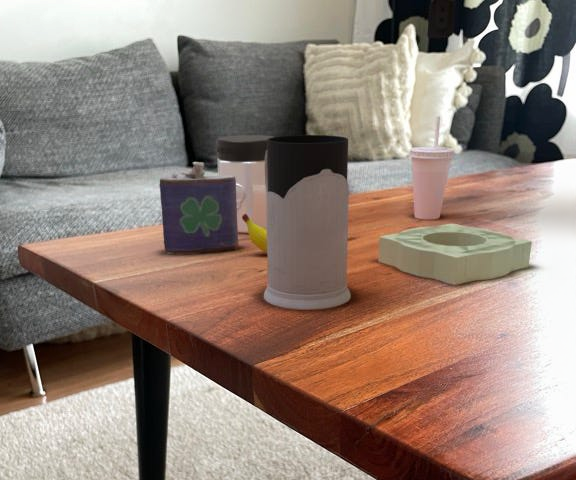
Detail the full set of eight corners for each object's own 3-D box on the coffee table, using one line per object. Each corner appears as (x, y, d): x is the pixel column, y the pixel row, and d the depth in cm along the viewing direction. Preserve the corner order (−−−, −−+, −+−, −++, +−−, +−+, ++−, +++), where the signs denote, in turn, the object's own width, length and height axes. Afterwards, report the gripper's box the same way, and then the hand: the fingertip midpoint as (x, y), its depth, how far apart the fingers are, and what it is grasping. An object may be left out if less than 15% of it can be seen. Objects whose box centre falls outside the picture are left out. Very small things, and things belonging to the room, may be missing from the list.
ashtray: (449, 245, 91) (451, 221, 90) (537, 267, 81) (540, 241, 80) (370, 261, 84) (371, 236, 83) (455, 288, 74) (457, 259, 73)
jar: (207, 231, 100) (202, 140, 95) (232, 219, 107) (229, 134, 102) (267, 235, 97) (265, 142, 92) (289, 223, 104) (288, 135, 99)
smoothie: (454, 220, 105) (463, 118, 99) (410, 221, 104) (417, 119, 98) (442, 212, 110) (450, 115, 105) (400, 213, 110) (406, 115, 104)
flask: (237, 245, 92) (233, 158, 87) (240, 251, 89) (237, 161, 85) (163, 250, 90) (156, 161, 85) (165, 256, 87) (158, 164, 83)
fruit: (242, 257, 86) (240, 215, 84) (243, 252, 88) (242, 211, 86) (327, 257, 86) (327, 215, 84) (326, 253, 88) (327, 211, 86)
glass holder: (285, 314, 67) (283, 146, 61) (232, 276, 79) (226, 132, 73) (366, 302, 70) (373, 140, 64) (304, 267, 82) (304, 128, 76)
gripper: (488, -132, 82) (471, 35, 89) (478, -102, 97) (464, 38, 104) (421, -130, 83) (410, 35, 90) (422, -101, 98) (412, 38, 105)
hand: (439, 36), depth 97 cm, fingers open, 9 cm apart
